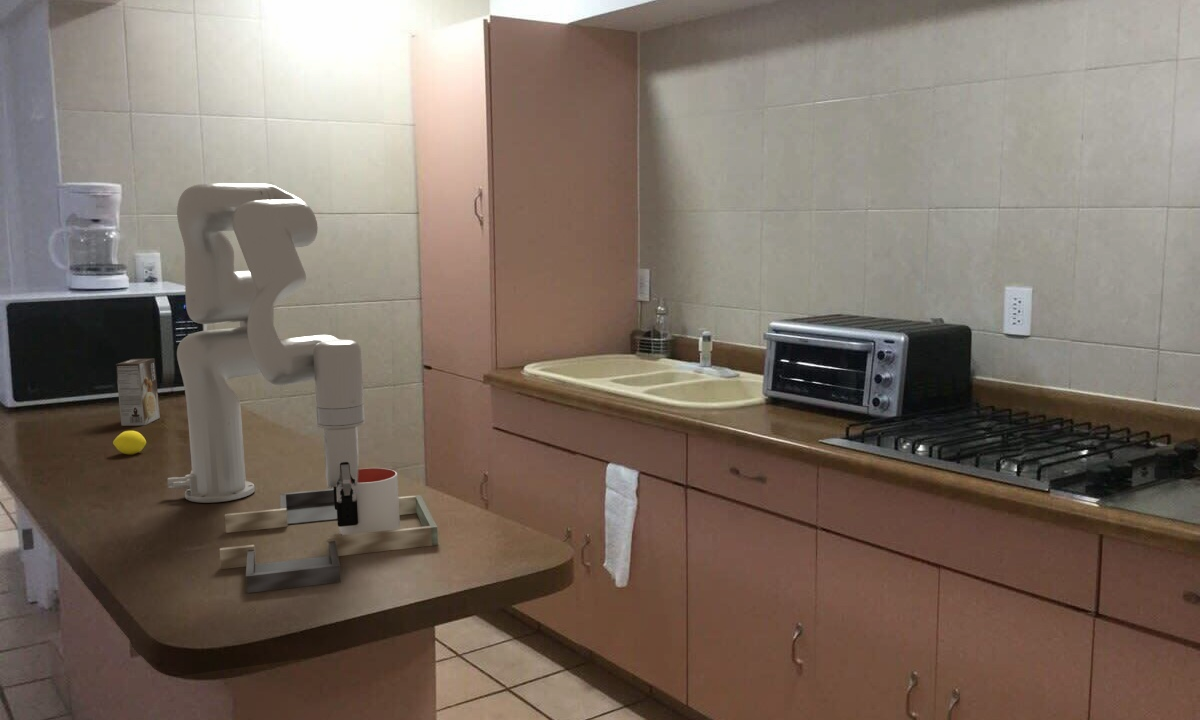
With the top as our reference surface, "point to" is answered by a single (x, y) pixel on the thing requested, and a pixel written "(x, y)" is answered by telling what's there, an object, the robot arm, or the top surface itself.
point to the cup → (375, 501)
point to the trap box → (328, 568)
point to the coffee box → (137, 392)
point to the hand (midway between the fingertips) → (346, 516)
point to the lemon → (130, 442)
